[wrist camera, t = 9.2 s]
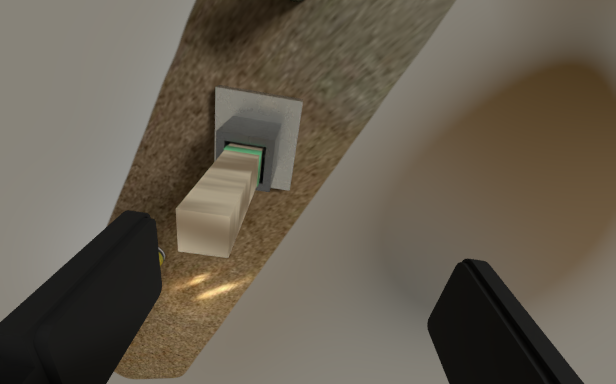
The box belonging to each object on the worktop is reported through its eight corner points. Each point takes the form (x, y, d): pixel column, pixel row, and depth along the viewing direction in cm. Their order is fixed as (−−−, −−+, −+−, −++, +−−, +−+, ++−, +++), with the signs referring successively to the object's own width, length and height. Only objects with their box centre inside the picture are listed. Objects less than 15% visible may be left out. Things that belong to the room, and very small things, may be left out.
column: (229, 141, 36) (174, 207, 21) (263, 147, 36) (231, 215, 22) (228, 172, 37) (177, 251, 23) (261, 177, 38) (229, 259, 23)
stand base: (219, 84, 41) (193, 96, 32) (303, 99, 42) (300, 114, 33) (217, 174, 47) (196, 204, 38) (290, 185, 48) (285, 217, 39)
